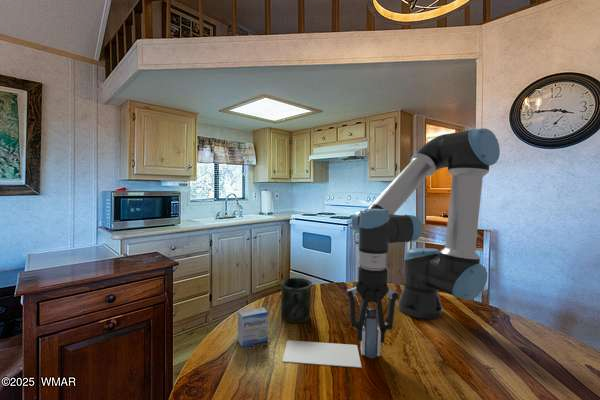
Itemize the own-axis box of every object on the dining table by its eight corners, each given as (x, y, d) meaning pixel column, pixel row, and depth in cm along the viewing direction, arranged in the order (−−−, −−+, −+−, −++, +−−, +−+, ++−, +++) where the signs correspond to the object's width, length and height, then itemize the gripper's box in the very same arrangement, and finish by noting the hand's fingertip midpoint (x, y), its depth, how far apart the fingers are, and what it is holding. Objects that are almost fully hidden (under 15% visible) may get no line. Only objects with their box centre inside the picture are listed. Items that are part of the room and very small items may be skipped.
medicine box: (241, 347, 78) (241, 317, 78) (237, 340, 82) (237, 310, 82) (268, 341, 82) (268, 311, 82) (263, 334, 86) (263, 306, 86)
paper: (356, 345, 81) (356, 345, 81) (361, 367, 71) (361, 366, 71) (287, 340, 82) (287, 340, 82) (282, 361, 72) (282, 361, 72)
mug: (310, 310, 104) (311, 278, 103) (312, 330, 89) (313, 292, 88) (281, 309, 104) (281, 277, 103) (277, 329, 89) (278, 291, 89)
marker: (375, 351, 78) (376, 307, 78) (377, 358, 75) (379, 312, 74) (362, 350, 78) (364, 306, 78) (364, 357, 75) (365, 311, 74)
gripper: (342, 269, 72) (340, 358, 73) (408, 272, 71) (405, 363, 72) (340, 261, 80) (338, 343, 81) (400, 264, 79) (397, 346, 79)
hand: (370, 352), depth 76 cm, fingers closed on marker, 3 cm apart
